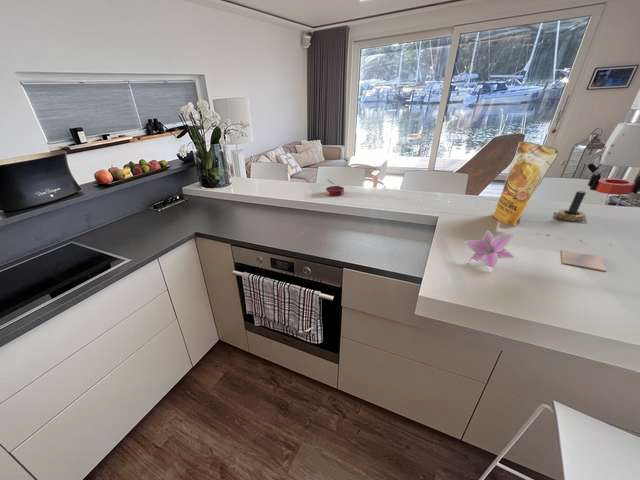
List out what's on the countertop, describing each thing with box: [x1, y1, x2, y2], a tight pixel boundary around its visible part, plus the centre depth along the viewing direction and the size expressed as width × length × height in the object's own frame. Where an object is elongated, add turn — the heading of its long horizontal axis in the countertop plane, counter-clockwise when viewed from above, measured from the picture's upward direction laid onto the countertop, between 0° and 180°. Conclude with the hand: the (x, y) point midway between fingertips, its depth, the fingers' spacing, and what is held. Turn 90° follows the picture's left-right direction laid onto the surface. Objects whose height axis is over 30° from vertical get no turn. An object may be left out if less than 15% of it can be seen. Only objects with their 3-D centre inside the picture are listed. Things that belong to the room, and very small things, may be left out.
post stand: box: [553, 190, 588, 225], centre depth 105 cm, size 9×9×11 cm
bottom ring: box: [557, 208, 586, 222], centre depth 106 cm, size 7×7×2 cm
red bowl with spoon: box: [325, 178, 345, 197], centre depth 159 cm, size 11×10×10 cm
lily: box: [464, 229, 515, 269], centre depth 86 cm, size 12×12×10 cm
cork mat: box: [560, 249, 607, 272], centre depth 84 cm, size 9×9×1 cm
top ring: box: [593, 177, 637, 196], centre depth 77 cm, size 7×7×2 cm
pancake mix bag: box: [492, 140, 559, 227], centre depth 105 cm, size 7×19×28 cm, turn 170°
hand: (612, 189), depth 77 cm, fingers closed on top ring, 7 cm apart
